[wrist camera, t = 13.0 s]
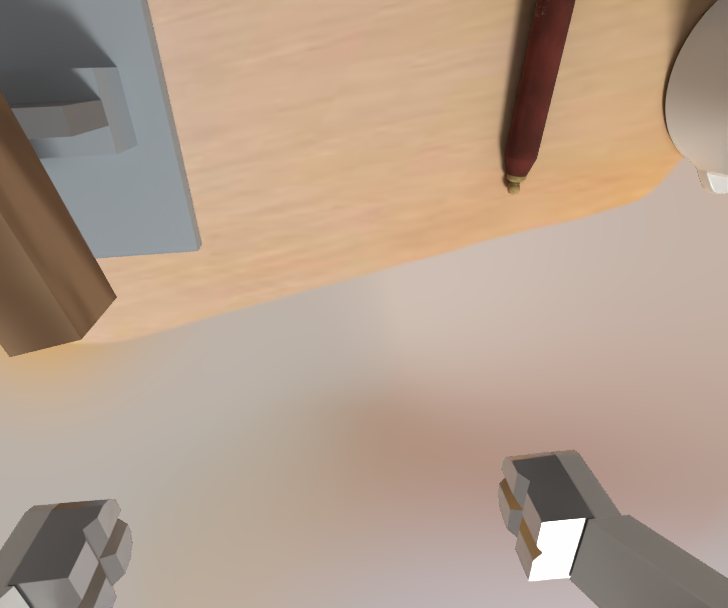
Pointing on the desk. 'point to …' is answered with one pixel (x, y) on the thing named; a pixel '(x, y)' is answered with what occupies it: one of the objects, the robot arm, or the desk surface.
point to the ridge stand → (100, 120)
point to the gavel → (536, 87)
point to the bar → (41, 254)
